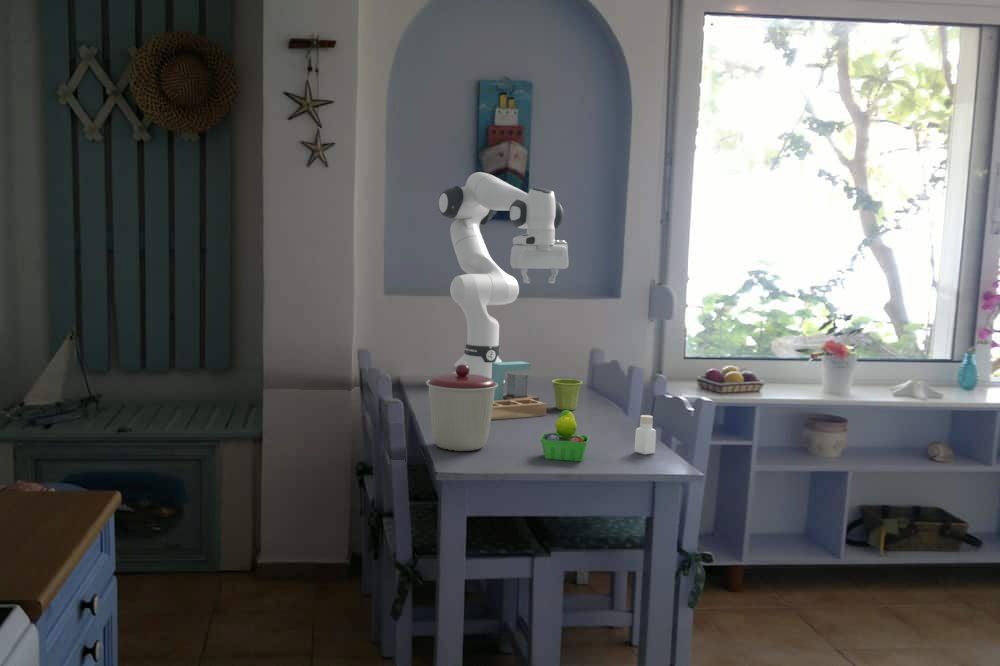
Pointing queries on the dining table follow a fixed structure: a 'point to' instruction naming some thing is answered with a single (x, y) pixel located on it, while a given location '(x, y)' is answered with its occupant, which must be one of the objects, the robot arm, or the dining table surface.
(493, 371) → the plate
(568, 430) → the fruit basket
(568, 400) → the plant pot
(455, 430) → the canister
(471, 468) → the dining table surface
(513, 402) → the rack
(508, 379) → the grey rectangular block
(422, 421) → the dining table surface
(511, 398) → the socket frame
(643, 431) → the salt shaker
